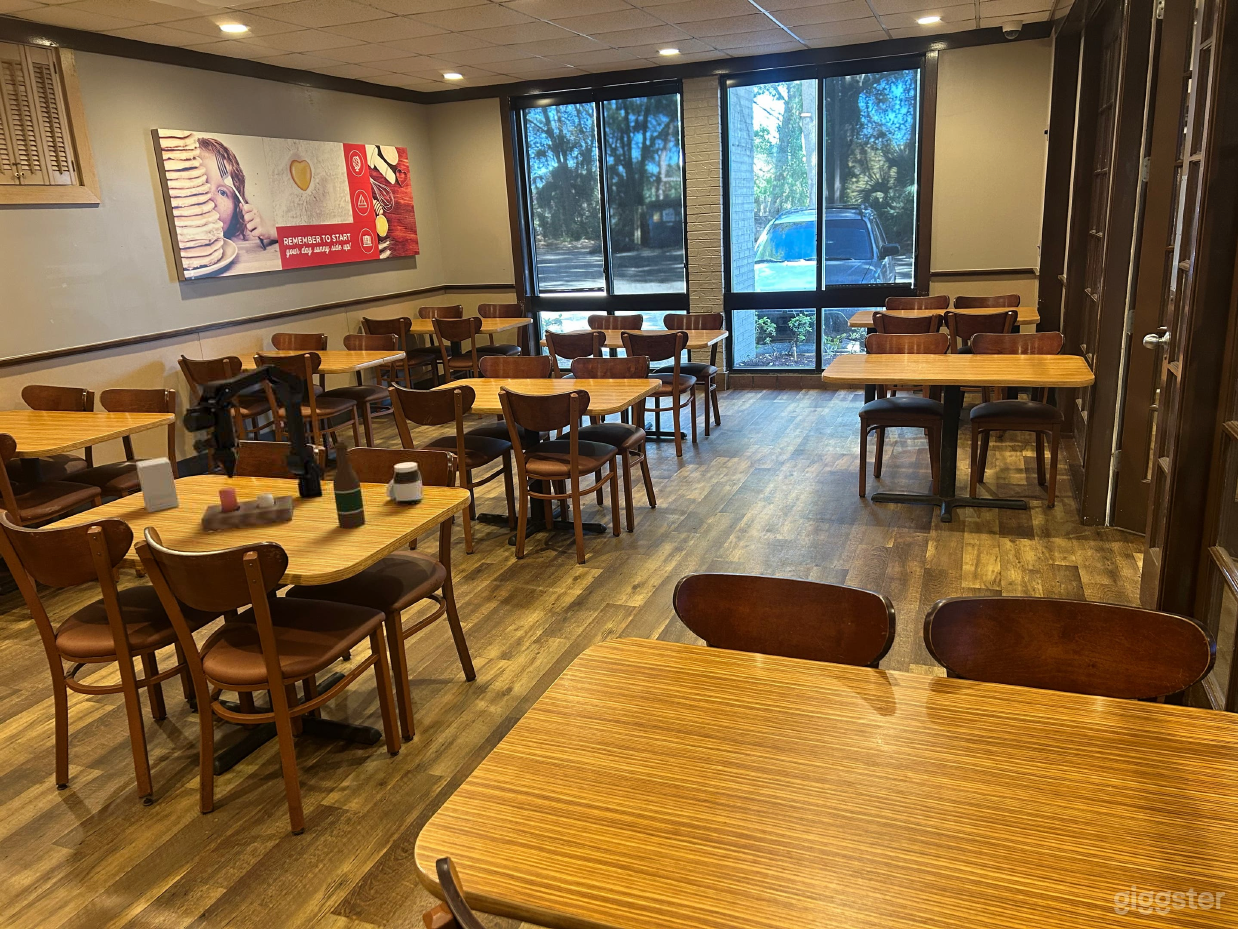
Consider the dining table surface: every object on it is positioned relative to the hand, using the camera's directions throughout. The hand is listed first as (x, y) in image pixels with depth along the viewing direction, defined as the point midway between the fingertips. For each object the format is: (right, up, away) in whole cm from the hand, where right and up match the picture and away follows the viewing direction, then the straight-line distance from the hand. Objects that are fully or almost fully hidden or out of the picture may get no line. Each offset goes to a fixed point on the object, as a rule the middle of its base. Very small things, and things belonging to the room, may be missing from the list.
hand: (230, 478), depth 259 cm
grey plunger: (+8, -11, +6) cm, 15 cm away
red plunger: (-1, -9, +2) cm, 10 cm away
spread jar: (+47, -7, +15) cm, 50 cm away
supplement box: (-32, -10, +24) cm, 41 cm away
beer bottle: (+37, -13, -5) cm, 40 cm away
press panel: (+4, -13, +5) cm, 14 cm away
